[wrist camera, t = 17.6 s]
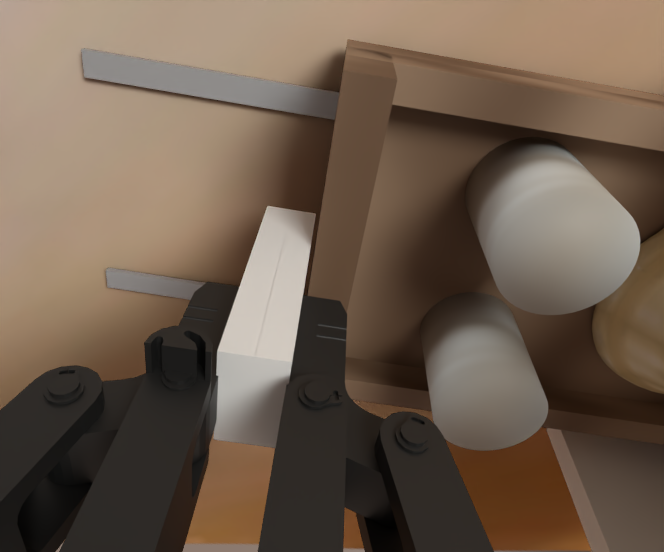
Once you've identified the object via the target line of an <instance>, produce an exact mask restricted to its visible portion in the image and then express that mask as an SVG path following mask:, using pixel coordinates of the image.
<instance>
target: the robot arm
mask: <svg viewBox="0 0 664 552" xmlns="http://www.w3.org/2000/svg"><path fill="white" fill-rule="evenodd" d="M315 217H316V213H309V212H303V211H297V210H291V209H285V208H278V207H272V206H267V209H266V211H265V214H264V217H263V220H262V223H261V226H260V229H259V232H258V235H257V237H256V240H255V243H254V246H253V249H252V252H251V255H250V258H249V261H248V264H247V266H246V269H245V272H244V275H243V278H242V281H241V284H240V287H238V286H232V285H225V284H219V283H212V282H207V283H205V284H204V285H203V286H202V287H200V288H199V289H198V290H196V291H195V292H194V294H193V296H192V298H191V300H190V302H189V305H188V308H187V309H186V311H185V313H184V315H183V318H182V320H181V322H180V324H179V326H172V327H168V328H163V329H161V330H159V331H157V332H155V333H153V334H152V335H151V336H150V337H149V338H148V339H147V340H146V341H145V342H144V345H145V360H146V374H143V375H140V376H138V377H134V378H129V379H123V380H113V381H104V382H102V380H101V379H100V377H99V375H98V374H97V373H96V372H94V371H93V370H91V369H89V368H87V367H81V366H64V367H59V368H56V369H53V370H50V371H47V372H46V373H44V374H43V375H41V376H40V377H38V378H37V379H35V380H34V381H33V382H32V383H31V384H29V385H28V386H27V387H26V388H25V389H24V390H23V391H22V392H20V393H19V394H18V395H17V396H16V397H15V398H14V399H13V400H11V401H10V402H9V403H8V404H7V405H6V406H5V407H3V408H2V409H1V410H0V552H55V551H56V550H57V549H58V548H59V546H60V545H61V544H62V543H63V541H64V540H65V541H64V543H63V545H62V547H61V549H60V551H59V552H182V551H183V548H184V545H185V541H186V538H187V534H188V531H189V527H190V524H191V520H192V517H193V513H194V510H195V506H196V503H197V499H198V496H199V492H200V489H201V485H202V482H203V478H204V475H205V471H206V468H207V464H208V459H209V445H210V441H211V438H212V434H213V431H214V440H221V441H228V442H236V443H243V444H250V445H257V446H264V447H272V448H275V454H274V459H273V465H272V471H271V477H270V483H269V489H268V495H267V501H266V507H265V512H264V518H263V524H262V530H261V536H260V542H259V548H258V552H343V538H344V507H345V508H348V509H350V510H352V511H354V512H356V516H357V520H358V524H359V528H360V533H361V537H362V541H363V545H364V550H365V552H494V551H493V548H492V546H491V544H490V542H489V539H488V537H487V535H486V532H485V530H484V528H483V526H482V523H481V521H480V519H479V516H478V514H477V512H476V510H475V507H474V505H473V503H472V500H471V498H470V496H469V494H468V491H467V489H466V487H465V484H464V482H463V480H462V478H461V475H460V473H459V471H458V468H457V466H456V464H455V462H454V459H453V457H452V455H451V452H450V450H449V448H448V446H447V443H446V441H445V439H444V436H443V435H442V433H441V432H440V430H439V429H438V427H437V426H436V425H435V424H434V423H432V422H431V421H430V420H429V419H427V418H426V417H424V416H421V415H419V414H416V413H412V412H404V411H402V412H398V413H393V414H391V415H390V416H388V417H387V418H386V419H383V418H380V417H378V416H376V415H373V414H371V413H369V412H367V411H365V410H363V409H362V408H360V407H359V406H358V405H357V404H355V403H354V402H353V400H352V399H351V398H350V397H349V395H348V393H347V390H346V387H345V364H346V336H347V330H346V329H347V313H346V311H345V309H344V307H343V305H342V304H341V302H340V301H338V300H332V299H325V298H319V297H312V296H305V295H304V288H305V282H306V276H307V269H308V262H309V256H310V249H311V243H312V236H313V230H314V223H315Z"/></svg>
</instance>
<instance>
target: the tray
mask: <svg viewBox="0 0 664 552" xmlns="http://www.w3.org/2000/svg"><path fill="white" fill-rule="evenodd" d="M663 228H664V96H663V95H657V94H652V93H646V92H640V91H635V90H629V89H624V88H618V87H612V86H607V85H601V84H595V83H590V82H584V81H579V80H573V79H567V78H562V77H556V76H550V75H545V74H539V73H534V72H528V71H522V70H517V69H511V68H506V67H500V66H494V65H489V64H483V63H477V62H472V61H466V60H461V59H455V58H449V57H444V56H438V55H432V54H427V53H421V52H416V51H410V50H404V49H399V48H393V47H387V46H382V45H376V44H371V43H365V42H359V41H354V40H347V47H346V53H345V59H344V66H343V72H342V78H341V85H340V91H339V97H338V104H337V110H336V116H335V122H334V129H333V135H332V141H331V148H330V154H329V160H328V167H327V173H326V179H325V185H324V192H323V198H322V204H321V211H320V217H319V223H318V230H317V236H316V242H315V249H314V255H313V261H312V267H311V274H310V280H309V286H308V293H307V296H312V297H319V298H325V299H332V300H338V301H340V302H341V304H342V305H343V307H344V309H345V311H346V313H347V329H346V330H347V336H346V364H345V387H346V390H347V393H348V395H349V397H350V398H351V399H352V400H358V401H365V402H372V403H379V404H386V405H393V406H400V407H407V408H414V409H420V410H427V411H432V415H433V422H434V424H435V425H436V426H437V427H438V429H439V430H440V432H441V433H442V435H443V436H444V439H446V440H447V441H449V442H450V443H452V444H454V445H457V446H459V447H462V448H466V449H471V450H479V451H488V450H498V449H503V448H507V447H510V446H513V445H516V444H518V443H521V442H523V441H524V440H526V439H528V438H529V437H531V436H532V435H533V434H535V433H536V432H537V431H538V430H539V429H540V428H541V427H544V428H551V429H558V430H565V431H572V432H579V433H586V434H593V435H600V436H606V437H613V438H620V439H627V440H634V441H641V442H648V443H655V444H662V445H664V394H661V393H657V392H653V391H650V390H647V389H644V388H641V387H639V386H636V385H635V384H633V383H631V382H629V381H627V380H625V379H624V378H622V377H620V376H619V375H617V374H616V373H614V372H613V371H612V370H611V369H610V368H609V367H608V366H607V365H606V364H605V363H604V361H603V360H602V359H601V357H600V355H599V354H598V352H597V350H596V347H595V343H594V340H593V334H592V320H593V314H594V310H595V307H596V303H598V302H600V301H602V300H603V299H605V298H607V297H608V296H609V295H611V294H612V293H613V292H614V291H616V290H617V289H618V288H619V287H620V286H621V285H622V284H623V282H624V281H625V280H626V279H627V278H628V276H629V275H630V273H631V272H632V270H633V268H634V266H635V264H636V262H637V259H638V256H639V251H640V245H641V244H642V243H643V242H644V241H646V240H647V239H649V238H650V237H652V236H653V235H655V234H656V233H658V232H659V231H661V230H662V229H663Z"/></svg>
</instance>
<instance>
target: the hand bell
mask: <svg viewBox="0 0 664 552" xmlns="http://www.w3.org/2000/svg"><path fill="white" fill-rule="evenodd" d="M592 334H593V340H594V343H595V347H596V350H597V352H598V354H599V355H600V357H601V359H602V360H603V361H604V363H605V364H606V365H607V366H608V367H609V368H610V369H611V370H612V371H613V372H614V373H616V374H617V375H619V376H620V377H622V378H624V379H625V380H627V381H629V382H631V383H633V384H635V385H636V386H639V387H641V388H644V389H647V390H650V391H653V392H657V393H661V394H664V228H663V229H662V230H661V231H659V232H658V233H656V234H655V235H653V236H652V237H650V238H649V239H647V240H646V241H644V242H643V243H642V244H641V245H640V251H639V256H638V259H637V262H636V264H635V266H634V268H633V270H632V272H631V273H630V275H629V276H628V278H627V279H626V280H625V281H624V282H623V284H622V285H621V286H620V287H619V288H618V289H617V290H616V291H614V292H613V293H612V294H611V295H609V296H608V297H607V298H605V299H603V300H602V301H600V302H598V303H596V307H595V310H594V314H593V320H592Z"/></svg>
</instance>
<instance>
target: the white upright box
mask: <svg viewBox="0 0 664 552" xmlns="http://www.w3.org/2000/svg"><path fill="white" fill-rule="evenodd" d="M81 52H82V61H83V70H84V77H86V78H92V79H98V80H104V81H109V82H115V83H121V84H127V85H133V86H139V87H145V88H151V89H156V90H162V91H168V92H174V93H180V94H186V95H192V96H197V97H203V98H209V99H215V100H221V101H227V102H233V103H239V104H244V105H250V106H256V107H262V108H268V109H274V110H280V111H286V112H291V113H297V114H303V115H309V116H315V117H321V118H327V119H332V120H335V116H336V110H337V104H338V97H339V92H334V91H328V90H323V89H317V88H311V87H305V86H299V85H294V84H288V83H282V82H276V81H270V80H265V79H259V78H253V77H247V76H242V75H236V74H230V73H224V72H218V71H213V70H207V69H201V68H195V67H190V66H184V65H178V64H172V63H166V62H161V61H155V60H149V59H143V58H137V57H132V56H126V55H120V54H114V53H109V52H103V51H97V50H91V49H85V48H84V49H81ZM106 277H107V286H108V287H109V288H116V289H123V290H129V291H136V292H142V293H149V294H156V295H162V296H169V297H175V298H182V299H188V300H191V298H192V296H193V294H194V292H195V291H196V290H198V289H199V288H200V287H202V286H203V285H204V284H205V283H204V282H198V281H191V280H185V279H178V278H172V277H165V276H159V275H152V274H146V273H139V272H133V271H126V270H120V269H113V268H107V269H106ZM546 430H547V433H548V436H549V438H550V441H551V444H552V446H553V449H554V452H555V454H556V457H557V460H558V462H559V465H560V468H561V470H562V473H563V476H564V478H565V481H566V484H567V486H568V489H569V492H570V494H571V497H572V500H573V502H574V505H575V508H576V510H577V513H578V516H579V518H580V521H581V524H582V526H583V529H584V532H585V534H586V537H587V540H588V542H589V545H590V548H591V550H592V552H664V445H662V444H655V443H648V442H641V441H634V440H627V439H620V438H613V437H606V436H600V435H593V434H586V433H579V432H572V431H565V430H558V429H551V428H547V429H546Z"/></svg>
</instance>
